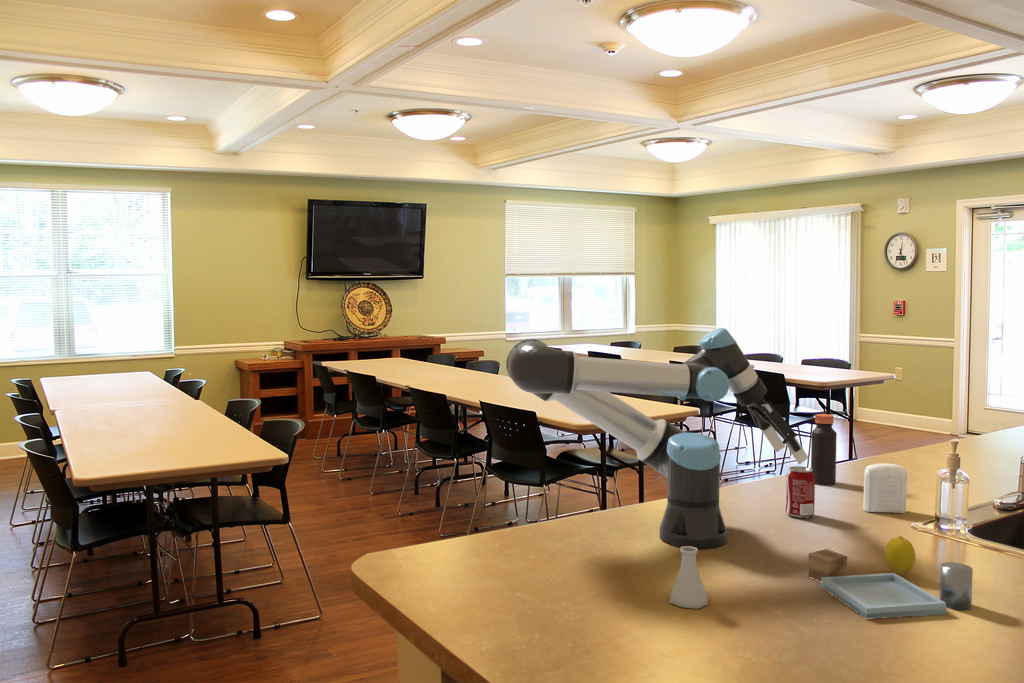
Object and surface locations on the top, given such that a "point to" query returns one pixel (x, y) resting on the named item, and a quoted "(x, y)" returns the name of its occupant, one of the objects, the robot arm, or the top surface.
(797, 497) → the soda can
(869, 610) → the dish
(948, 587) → the grey tin
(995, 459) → the top surface
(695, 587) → the flask
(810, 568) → the walnut block
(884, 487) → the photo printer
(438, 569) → the top surface
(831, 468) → the bottle
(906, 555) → the lemon
